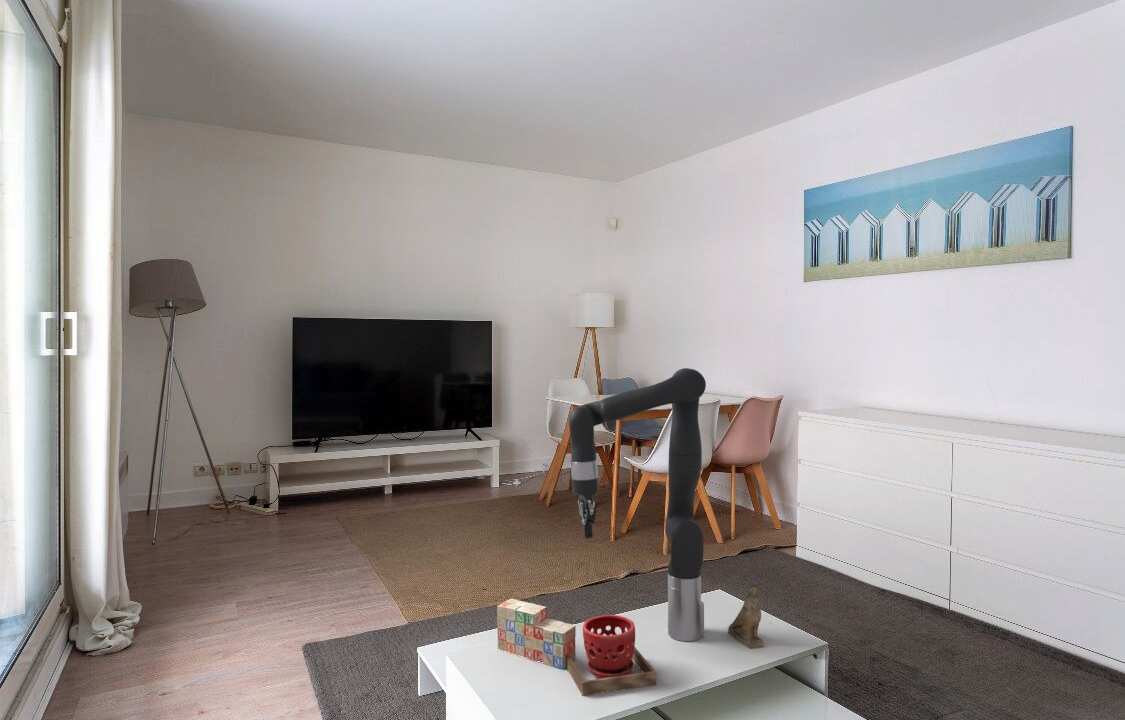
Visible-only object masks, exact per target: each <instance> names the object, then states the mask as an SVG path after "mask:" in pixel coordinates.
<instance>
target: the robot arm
mask: <svg viewBox="0 0 1125 720" xmlns="http://www.w3.org/2000/svg"><path fill="white" fill-rule="evenodd" d="M706 386H707V381H706V378H705V377H704V376H703V374H702V373H701V372H700V371H698V370H696V369H694V368H686V367H685V368H681V369H678V370H676V371H675V372H674V373H673V375H671V377H669V378H667V379H665V380H663V381H661V382H658V383H655V384H652V385H649V386H645V387H641V388H640V387H639V388H636V389H632V390H628V391H624V392H621V393H617V394H614V395H611V396H608V397H604V398H602V399H600V400H598V401H597V400H596V401H592V402H588V403H584V404H581V405H579V406H578V405H577V406H576V407H574V408H573V409H572V410H571V412H570V413H569V416H568V427H569V435H570V442H571V444H570V453H571V454H570V456H571V465H570V466H571V468H570V471H571V472H570V473H571V474H570V475H571V490H572V494H573V495H576V496H579V499H578V500H577V502H576V503H577V508H578V512H579V517H580V521H581V523H582V525H583V526H582V527H583V529H582V530H583V537H584V538H585V539H592V538H593V536H594V535H593V524H595V520H596V514H597V509H596V507H595V505H596V503H595V500H594V499H593V495H597V494H598V493H599V492H600V491H599V490H600V487H599V486H600V485H599V471H598V462H597V453H596V452H597V449H596V442H595V427H596V426H598V425H601V424H605V423H613V422H616V421H620V420H624V419H625V418H626V419H627V418H628V417H631V416H634V415H638V414H640V413H643V412H645V411H646V412H647V411H649V410H652V409H655V408H658V407H663V406H667V405H671V411H672V413H671V414H672V417H671V425H670V432H669V433H670V435H669V443H668V444H669V446H668V447H669V448H668V503H667V504H668V505H667V510H666V511H667V512H666V518H665V526H664V528H665V529H664V532H665V537H666V538H667V540H668V542H669V543H670V561H668V564H667V634H668V636H669V637H671V638H672V639H674V640H677V641H681V642H693V641H697V640H699V639H701V638H704V637H705V604H704V601H702V568H703V564H704V548H705V547H704V545H705V544H704V532H703V529H702V527H701V526H700V525H699V524H698V523H697V522H696V521H695V514H694V513H695V511H694V510H695V509H694V502H695V501H694V500H695V494H696V490H697V487H698V484H699V481H700V477H701V474H702V464H703V463H702V461H703V459H702V458H703V455H702V454H703V452H702V451H703V450H702V448H703V447H702V439H701V431H700V430H701V429H700V425H699V424H700V423H699V406H700V405H699V403H700V398H701V397H702V395H704V393H705V391H706V388H707V387H706Z"/></svg>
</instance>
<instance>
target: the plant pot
mask: <svg viewBox="0 0 1125 720" xmlns="http://www.w3.org/2000/svg"><path fill="white" fill-rule="evenodd" d="M607 627H609V628H610V629H608V630H607ZM616 628H619V629H620V630H621V633H618V634H617V632H616ZM626 629H627V630H626ZM592 630H593V631H592ZM598 630H600V632H599V633H598ZM582 639H583V646H584V650H585V654H586V656H587V659H588V661H587V668H588V670H589V672H590V673H591V674H592V675H594V676H595V677H596V678H598V679H601V678H608V677H615V676H622V675H629V674H631V673H632V671H634V668H635V662H634V660H633V659H632V657H633V654H634V647H636V646H635V645H636V627H635V623H634V622H633V620H631V619H630V618H628V617H625V616H623V615H618V614H617V615H615V614H601V615H598V616H594V617H590V618H589V619H587V620H586V621H584V623H583V625H582Z"/></svg>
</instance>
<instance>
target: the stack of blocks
mask: <svg viewBox="0 0 1125 720" xmlns="http://www.w3.org/2000/svg"><path fill="white" fill-rule="evenodd" d="M496 612H497V614H496V616H497V617H496V621H497V624H496V626H497V650H498V649H500V650H499V651H501V650H503V651H502V652H504V651H507V652H510V653H513V654H516V655H520V656H523V657H527V658H529V659H528V660H530V659H533V660H536V661H535V662H537V661H540V662H543V663H542V664H544V665H547V666H550V667H553V668H556V669H560V670H564V669H567V668H566V656H568V655H569V656H570V657H571V659H572V661H573V662H575V661H576V647H577V646H576V633H577V632H576V625H575V624H573V623H571V624H570V623H568V622H563V621H560V620H555V619H554V618H553V619H552V618H548V610H547V606H544V605H540V604H536V603H533V602H527V601H523V600H522V601H521V600H518V599H515V598H510V599H507V600H505V601H504V602H502V603H500V604H498V605H497V606H496ZM507 652H506V653H507ZM510 653H509V654H510ZM513 654H512V655H513ZM516 655H515V656H516ZM533 660H532V661H533ZM540 662H539V663H540Z"/></svg>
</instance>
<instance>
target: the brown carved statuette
mask: <svg viewBox="0 0 1125 720" xmlns="http://www.w3.org/2000/svg"><path fill="white" fill-rule="evenodd" d="M758 589H759V588H758V586H757V585H750V587H748V589H747V592H748V595H747V596H745V599H744V602H743V606H742V607H741V609H740V611H739V612H738V614H737V616H736V617H735V618H734V620H733V621H732V623H730V625H729V626H728V629H727V633H728V634H729V635H730V637H732V638H733V639H735V640H736V641H738V643H741V644H742V645H744V646H746V647H747V648H748V649H751V650H753V649H757V648H763V647H765V646H764V642H763V639H762V638H760V637H758V631H759V626H760V623H761V620H762V610H761V608H760V606H759V602H760V598H759V595H758Z"/></svg>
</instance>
